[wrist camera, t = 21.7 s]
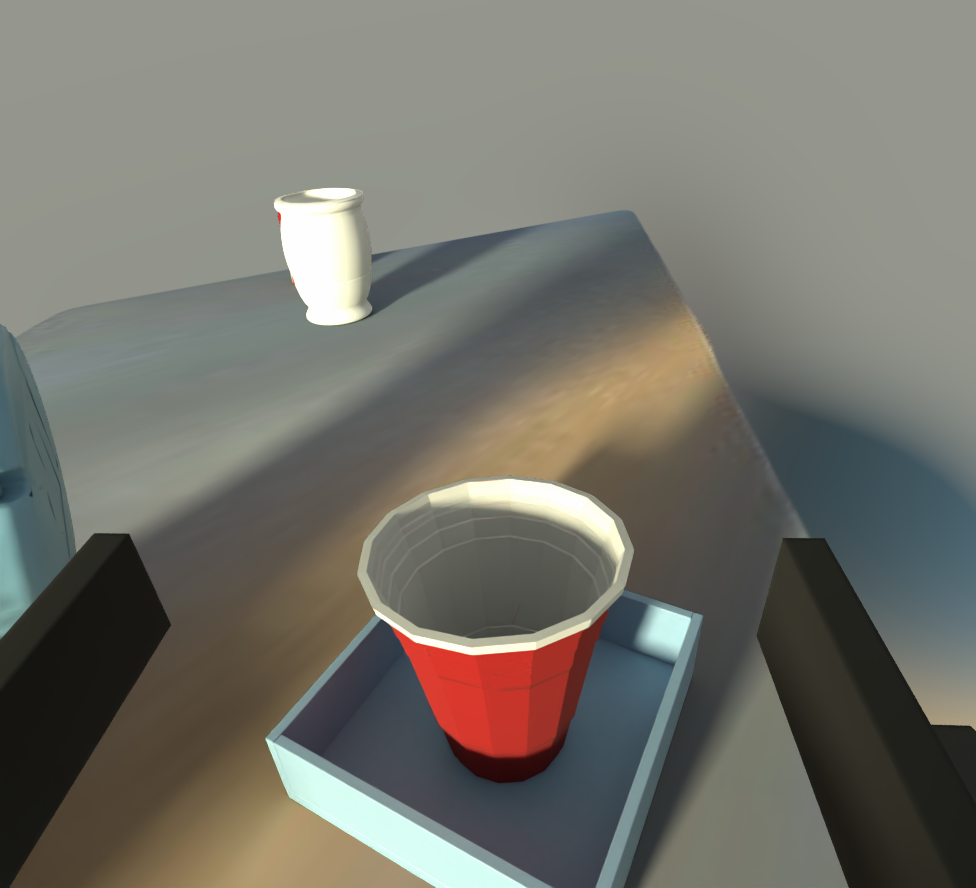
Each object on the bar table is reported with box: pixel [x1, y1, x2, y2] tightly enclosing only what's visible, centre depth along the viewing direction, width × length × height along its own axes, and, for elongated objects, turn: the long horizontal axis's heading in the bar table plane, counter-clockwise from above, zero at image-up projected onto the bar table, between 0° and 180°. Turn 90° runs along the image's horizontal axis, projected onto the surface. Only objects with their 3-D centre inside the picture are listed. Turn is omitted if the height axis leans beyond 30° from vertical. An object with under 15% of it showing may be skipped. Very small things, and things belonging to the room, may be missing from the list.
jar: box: [274, 188, 372, 325], centre depth 80 cm, size 11×10×15 cm
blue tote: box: [266, 590, 703, 888], centre depth 31 cm, size 15×15×5 cm
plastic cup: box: [357, 475, 634, 783], centre depth 28 cm, size 11×11×12 cm
